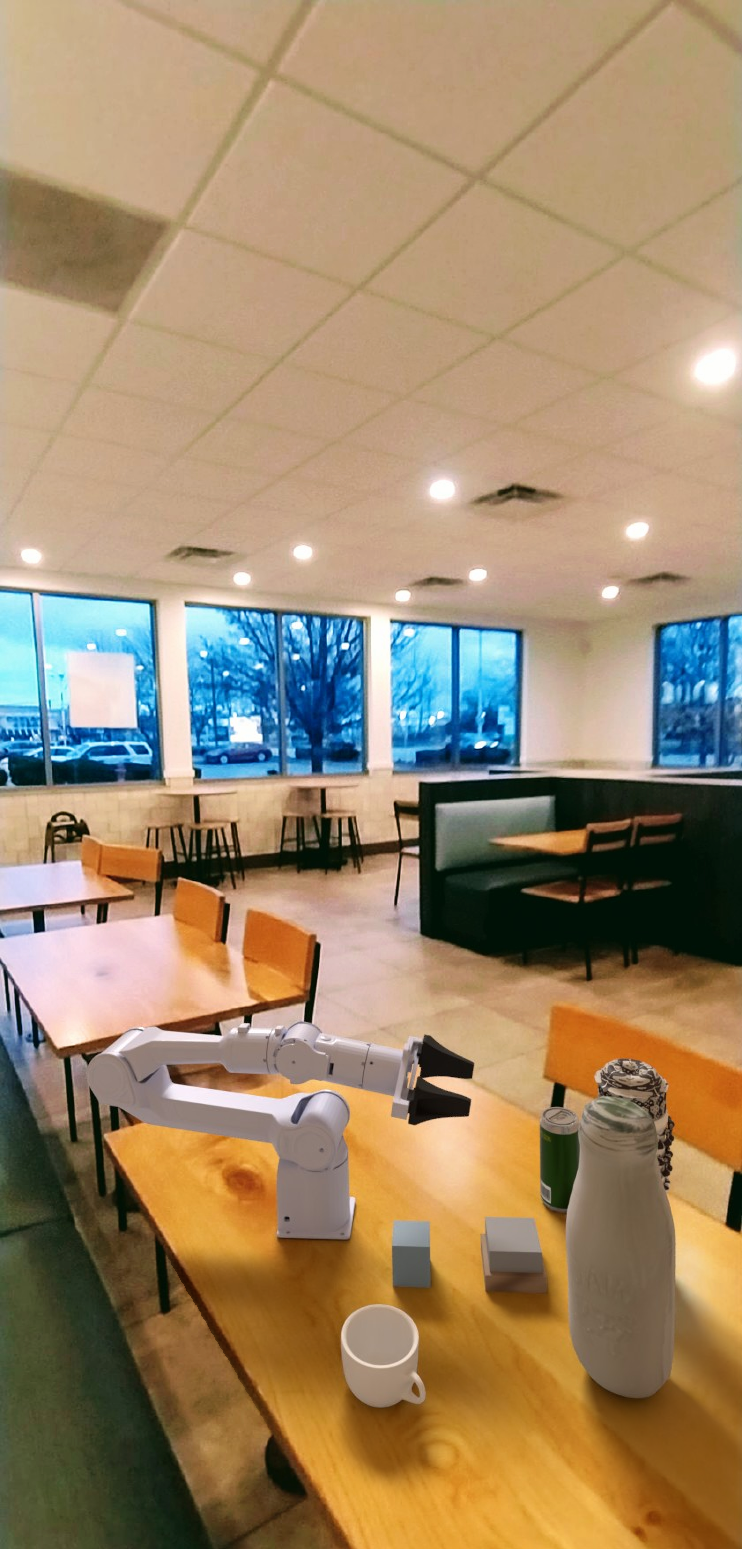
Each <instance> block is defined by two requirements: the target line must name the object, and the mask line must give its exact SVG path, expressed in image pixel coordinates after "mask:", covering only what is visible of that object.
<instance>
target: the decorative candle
mask: <svg viewBox="0 0 742 1549" xmlns="http://www.w3.org/2000/svg"><path fill="white" fill-rule="evenodd" d="M594 1079H595V1083H597V1094H598V1097H597V1098H599V1097H604V1096H608V1097H617V1098H622V1099H626V1100H629V1101H631V1102H634V1103H635V1104H637V1105H639V1106H640V1107H641V1108H643V1109H644V1110H645V1111H646V1112H647V1113H648V1114H649V1115H650V1116H651V1117H652V1119H653V1121H654V1123H655V1126H656V1131H657V1138H658V1149H657V1152H656V1154H657V1159H658V1164H659V1168H660V1172H661V1177H662V1182H663V1185H664V1188H665V1191H666V1194H668V1193H669V1191H670V1187H671V1181H670V1178H669V1176H671V1172H672V1171H673V1170H674V1169H673V1166H672V1164H671V1161H672V1158H673V1157H674V1153H673V1151H672V1150H671V1148H670V1147H671V1146H672V1144H673V1142H674V1141H675V1136H674V1135H673V1133H672V1132H673V1130H674V1127H675V1125H676V1124H675V1122H674V1121H673V1120H672V1117H671V1115H669V1111H668V1109H667V1091H668V1088H669V1086H670V1085H669V1083H668V1082H667V1080H666V1078H664V1077H663V1076H661V1075H660V1074H659V1073H658V1071H657V1070H656V1068H654V1067H653V1065H652V1066H651V1065H650V1064H649V1063H647V1062H644V1061H642V1060H639V1059H638V1060H637V1059H633V1058H615V1059H613V1060H610V1061H609V1062H606V1063H605V1064H604V1066H603V1067H602V1068H600V1069H598V1070H597V1071H596V1072H595V1074H594Z"/></svg>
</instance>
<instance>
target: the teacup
mask: <svg viewBox="0 0 742 1549" xmlns="http://www.w3.org/2000/svg"><path fill="white" fill-rule="evenodd" d="M419 1336H420V1334H419V1330H418V1327H417V1325H416V1322H414V1320H413V1318H412V1317H411V1316H410V1315H409V1314H408V1313H406V1312H405V1311H403V1310H402V1309H400V1308H399V1307H395V1306H393V1305H388V1304H381V1303H375V1304H369V1305H365V1306H363V1307H360V1308H358V1309H356V1310H355V1311H353V1312H352V1313H351V1314H350V1315H348V1317H347V1318H346V1320H345V1321H344V1322H343V1326H342V1327H341V1332H340V1350H341V1351H340V1352H341V1361H342V1362H341V1363H342V1368H343V1375H344V1378H345V1380H346V1381H345V1382H346V1383H347V1386H348V1387H349V1390H350V1391H351V1392H352V1393H353V1395H354V1396H355V1397H356V1398H357V1399H358V1400H359V1401H361V1402H362V1403H364V1404H366V1405H367V1406H370V1407H372V1408H373V1407H374V1408H381V1409H382V1408H389V1407H391V1406H394V1405H396V1404H398V1403H399V1402H401V1401H402V1400H403V1401H406V1402H409V1403H411V1404H415V1405H421V1404H422V1403H423V1402H424V1401H425V1400H426V1395H427V1394H426V1387H425V1385H424V1382H423V1380H422V1379H421V1377H420V1376H419V1374H417V1373H418V1362H419V1351H420V1350H419V1349H420V1348H419V1346H420V1337H419ZM414 1384H415V1385H416V1387H417V1388H418V1392H419V1396H417V1395H416V1394H415V1393H414V1392H413V1390H412V1388H413V1386H414Z"/></svg>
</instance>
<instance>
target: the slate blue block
mask: <svg viewBox="0 0 742 1549" xmlns="http://www.w3.org/2000/svg"><path fill="white" fill-rule="evenodd" d="M392 1225H393V1226H392V1236H391V1237H392V1240H391V1241H392V1242H391V1262H392V1263H391V1267H392V1269H391V1270H392V1287H403V1288H404V1287H406V1288H431V1234H430V1233H431V1229H430V1226H431V1225H430V1221H429V1220H427V1221H423V1220H396V1219H394V1220H393V1224H392Z"/></svg>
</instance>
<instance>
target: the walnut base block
mask: <svg viewBox="0 0 742 1549" xmlns="http://www.w3.org/2000/svg"><path fill="white" fill-rule="evenodd" d="M480 1254H481V1261H482V1262H481V1263H482V1271H483V1280H484V1281H483V1282H484V1289H485V1290H484V1291H485V1292H489V1293H490V1292H491V1293H492V1292H493V1293H494V1292H496V1293H525V1294H526V1293H527V1294H528V1293H529V1294H530V1293H531V1294H548V1276H547V1272H546V1271H547V1270H546V1268H545V1263H544V1259H543V1257H542V1273H518V1272H490V1269H489V1261H488V1253H487V1245H486V1238H485V1233H480Z"/></svg>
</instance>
